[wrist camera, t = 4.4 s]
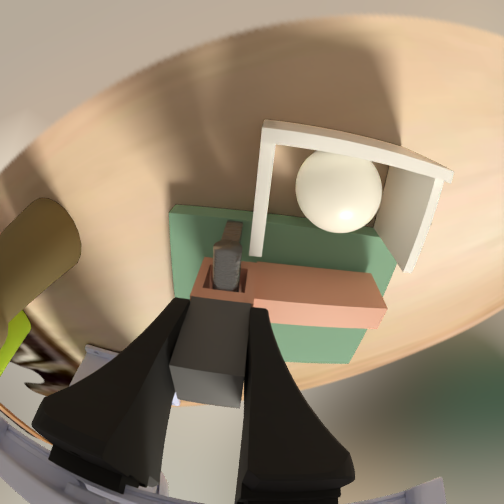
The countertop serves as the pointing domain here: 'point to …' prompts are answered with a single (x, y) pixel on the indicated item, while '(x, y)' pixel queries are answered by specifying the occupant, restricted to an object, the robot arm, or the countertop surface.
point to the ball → (338, 191)
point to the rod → (228, 258)
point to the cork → (34, 256)
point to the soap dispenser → (14, 338)
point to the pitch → (283, 252)
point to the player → (280, 311)
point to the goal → (394, 195)
